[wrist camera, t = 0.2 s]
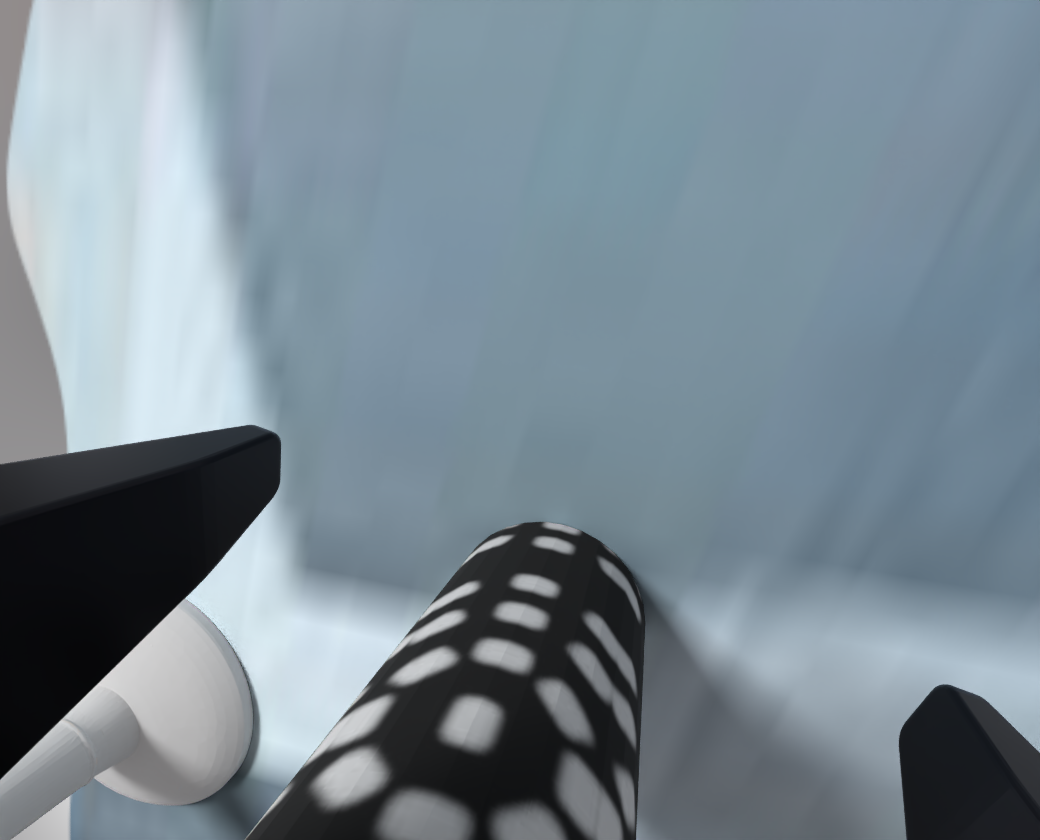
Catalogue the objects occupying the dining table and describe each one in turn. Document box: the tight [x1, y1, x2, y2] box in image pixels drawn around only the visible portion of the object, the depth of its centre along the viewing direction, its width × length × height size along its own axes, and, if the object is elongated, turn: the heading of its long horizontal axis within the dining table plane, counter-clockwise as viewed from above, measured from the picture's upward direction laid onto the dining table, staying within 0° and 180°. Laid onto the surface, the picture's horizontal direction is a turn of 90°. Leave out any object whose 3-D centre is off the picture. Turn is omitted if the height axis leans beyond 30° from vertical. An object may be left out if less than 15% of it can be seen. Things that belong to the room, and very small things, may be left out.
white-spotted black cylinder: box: [245, 522, 645, 840], centre depth 15 cm, size 8×8×20 cm
